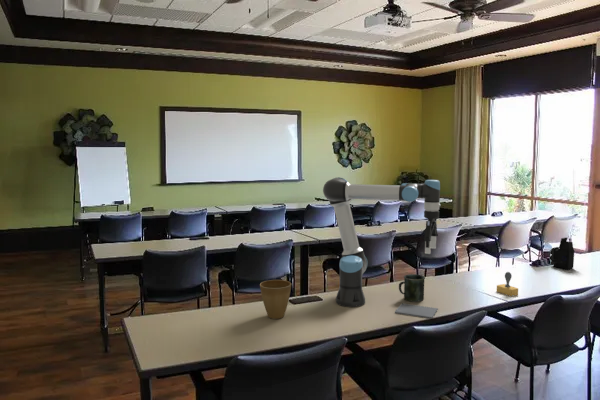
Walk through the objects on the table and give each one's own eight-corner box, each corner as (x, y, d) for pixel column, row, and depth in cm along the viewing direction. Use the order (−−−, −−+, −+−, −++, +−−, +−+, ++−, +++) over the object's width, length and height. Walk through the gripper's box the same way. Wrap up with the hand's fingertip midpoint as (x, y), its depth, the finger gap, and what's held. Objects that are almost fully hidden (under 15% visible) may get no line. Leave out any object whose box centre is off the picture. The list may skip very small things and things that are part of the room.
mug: (428, 301, 263) (429, 278, 262) (404, 303, 259) (404, 281, 257) (417, 294, 273) (418, 273, 272) (393, 297, 269) (394, 275, 267)
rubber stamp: (518, 294, 274) (519, 273, 273) (511, 296, 271) (512, 274, 270) (503, 290, 283) (504, 269, 281) (496, 291, 280) (497, 270, 279)
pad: (394, 313, 245) (394, 311, 244) (402, 304, 257) (402, 303, 257) (432, 318, 237) (432, 317, 237) (437, 309, 249) (437, 308, 249)
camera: (554, 264, 341) (556, 235, 339) (574, 268, 330) (576, 238, 328) (546, 266, 335) (548, 236, 333) (566, 270, 324) (568, 240, 322)
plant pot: (297, 314, 243) (297, 282, 241) (280, 323, 230) (280, 290, 228) (271, 309, 250) (271, 277, 248) (253, 318, 238) (253, 285, 236)
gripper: (434, 213, 244) (432, 256, 247) (443, 207, 266) (442, 247, 269) (418, 212, 248) (417, 255, 250) (429, 206, 270) (428, 245, 272)
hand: (430, 251), depth 259 cm, fingers open, 13 cm apart
